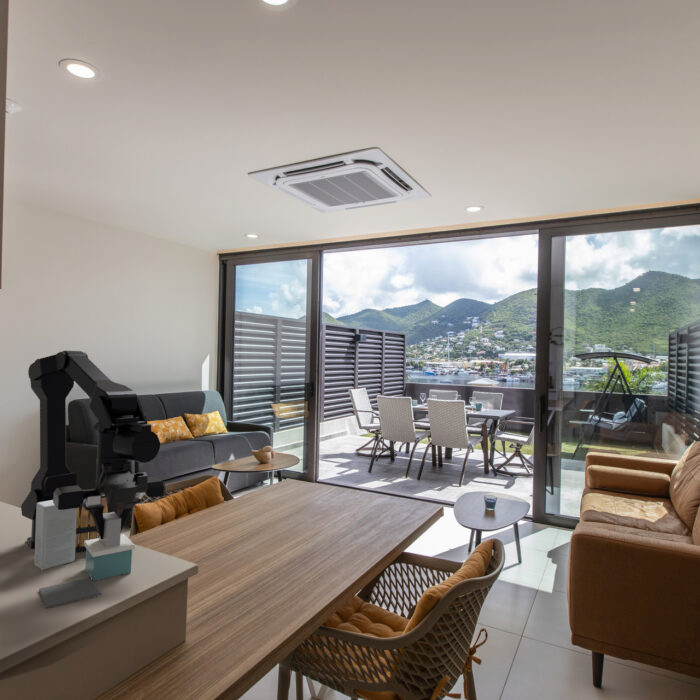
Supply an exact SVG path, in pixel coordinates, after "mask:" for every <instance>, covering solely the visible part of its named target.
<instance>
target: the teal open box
mask: <svg viewBox="0 0 700 700" xmlns="http://www.w3.org/2000/svg"><path fill="white" fill-rule="evenodd" d="M132 554H133V549H132V550H127V551H122V552H117V553H112V554H107V555H101V556H96V557H92V555H91V554H90V553H89V551H88V550H87V548H86V552H85V569H84V570H85V571H86V572H87V574H88V575H89V578H90V577H91V578H92V580H93V582H95V581H99V580H100V579H101V580H104V578H105V579H109V578H108V577H110V578H113V577H112V576H114V577H118V576H117V575H119V576H122V575H121V574H123V575H127V574H131V573H132V558H133V557H132V556H133V555H132ZM130 572H131V573H130ZM126 573H127V574H126ZM101 580H100V581H101Z"/></svg>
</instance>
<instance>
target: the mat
mask: <svg viewBox="0 0 700 700" xmlns="http://www.w3.org/2000/svg"><path fill="white" fill-rule="evenodd" d="M38 591H39V593H40V597H41V598H42V601H43V604H44V607H45V609H51V608H54V607H59V606H63V605H66V604H70V603H76V602H79V601H83V600H88V599H91V598H95V596H96V597H99V596H98V595H100V596H101V594H102V593H101V591H100V590H99V588H98V587H97V584H96V583H95V581H93V580H92V579H91V577H90V576H89V577H85V578H83V579H82V578H81V579H77V580H72V581H67V582H63V583H59V584H53V585H49V586H45V587H40V588H39V590H38Z"/></svg>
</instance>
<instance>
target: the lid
mask: <svg viewBox="0 0 700 700" xmlns="http://www.w3.org/2000/svg"><path fill="white" fill-rule="evenodd" d="M103 523H104V536H103V539H100V537H99V538H98V537H97V539H91V540H85V541H84V546H85V547H86V548H87V550H88V551H89V553H90V554H91V555H92V557H96V556H101V555H107V554H112V553H117V552H122V551H127V550H132V551H133V550H135V548H136V547H135V545H136V544H135V543H134V542H133V541H132V540H131V539H130V537H128V536H127V535H126V533H122V531H121V518H120V517H119V516H118V515H117V512H115V511H112V512H108V513H103Z"/></svg>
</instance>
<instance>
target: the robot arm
mask: <svg viewBox="0 0 700 700" xmlns="http://www.w3.org/2000/svg"><path fill="white" fill-rule="evenodd" d="M27 373H28V378H29V380H30V389H31V390H32V392H33V393H34V394H35V396H36V397H37V399H38V400H39V458H40V459H39V460H40V461H39V469H38V470H37V472H36V474H35V475H34V477H33V479H32V480H31V484H30V491H29V493H28V494H27V496H26V498H25V499H24V501H23V502H22V503H21V506H20V510H21V516H22V517H25V518H27V519H29V520H31V531H30V533H31V534H30V536H29V537H27V538H26V541H27V543H28V546H29V548H30V549H34V550H35V533H36V504H37V503H38V502H44V501H49V500H53V503H54V505H55V506H56V507H57V509H58V510H65V509H72V508H79V509H80V507H82V506H83V508H84V509H85V510H89V514H90V513H91V515H92V517H93V520H94V523H95V526H96V528H97V531H98V534H99V537H100V539H103V536H104V523H103V510H104V506H103V505H102V504H101V499H102V498H106V500H107V504H109V505H116V514H117V515H118V516H119V517H120V518H121V532H122V531H123V528H124V526H125V524H126V521H127V519H128V516H129V514H130V512H131V510H133V508H134V507H135V506H136V505H137V504H141V503H142V502H143V501H142V499H141V498H140V496H141V494H143V493H144V494H145V495H146V496H148V497H149V498H158V497H164V496H166V487H167V486H166V483H165V482H164V481H163V480H162V479H160V478H159V477H157V476H149V477H148V474H147V472H146V471H143V472H136V473H135V472H134V473H133V471H132V465H131V464H132V462H131V461H133V462H137V463H143V464H145V463H149V462H151V461H152V460H154V459H155V458H156V457H157V455H158V454H159V452H160V448H161V441H160V438H159V436H158V435H157V434H156V433H155V432H154V431H153V430H152V425H151V423H150V424H149V423H148V419H147V418H146V417H147V414H146V413H145V411H144V409H143V407H142V404H141V402H140V400H139V397H138V394H137V393H136V392H135V391H134V390H133V389H132V388H130V387H128V386H127V385H124V384H123V383H122V384H121V383H118V382H115V381H113V380H111V378H109V377H108V376H107V375H106V374H105V373H104V372H103V371H102V370H101V369H100V368H99V367H98V366H97V365H96V364H94V362H93V361H91V359H90V358H89V356H88V354H87V352H83V351H80V350H62V351H59V352H57V353H55V354H53V355H48V356H45V357H41V358H37V359H36V360H35V361H34V362H32V363H30V365H29V367H28V371H27ZM75 383H76V384H77V386H78V387H79V388H80V389H81V390H82V391H84V393H85V394H86V395H87V396H88V397H89V399H90V402H89V406H88V407H89V408H90V410H91V412H92V413H93V415H94V416H95V418H96V419H97V420H98V421H97V422H96V423H95V424H94V425H93V426H92V429H93V430H97V450H96V458H95V466H96V467H95V480H94V486H95V488H90V489H88V488H87V489H83V488H81V487H80V486H79V485H77V476H78V475H77V474H76V472H72V471H71V469H70V468H69V467H68V466H67V419H66V418H67V411H66V410H67V407H66V406H67V405H66V402H67V401H66V400H67V397H68V396H69V395H70V393H71V391H72V390H73V388H74V386H75Z"/></svg>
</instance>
